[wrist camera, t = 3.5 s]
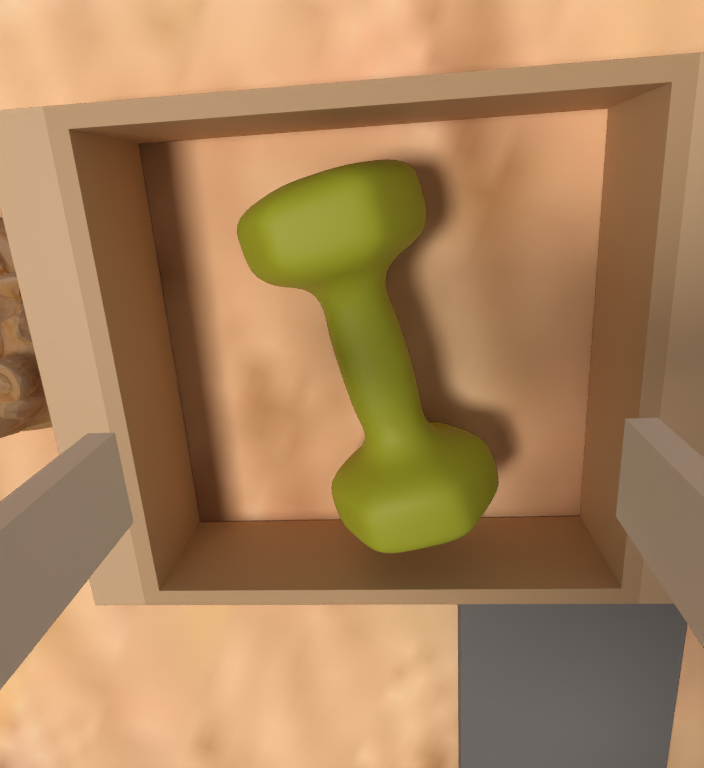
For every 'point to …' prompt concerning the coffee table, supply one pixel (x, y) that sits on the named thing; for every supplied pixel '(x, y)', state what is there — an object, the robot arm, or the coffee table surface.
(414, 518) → the dumbbell
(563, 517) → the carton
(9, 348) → the statue
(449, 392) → the coffee table surface
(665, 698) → the mat
